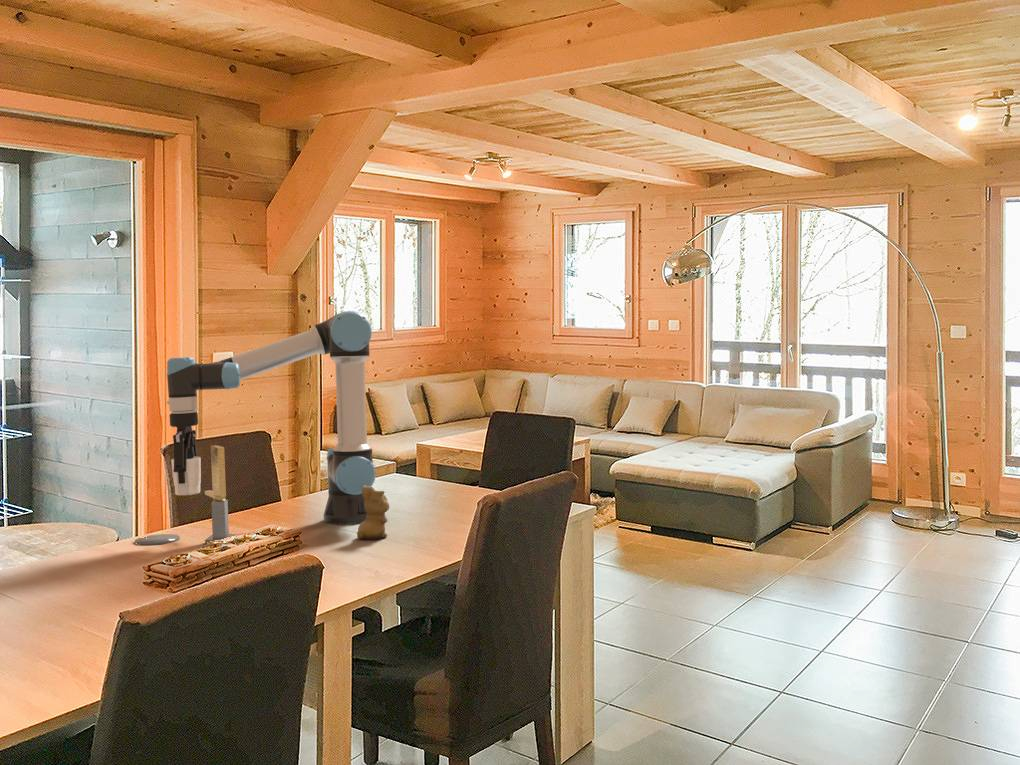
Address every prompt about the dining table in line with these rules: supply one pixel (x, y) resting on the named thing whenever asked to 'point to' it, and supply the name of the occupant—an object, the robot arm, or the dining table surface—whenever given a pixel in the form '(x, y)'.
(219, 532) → the post
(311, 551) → the dining table surface
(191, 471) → the white cup
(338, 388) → the robot arm
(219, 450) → the tan l-shaped bracket
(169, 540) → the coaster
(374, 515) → the figurine
